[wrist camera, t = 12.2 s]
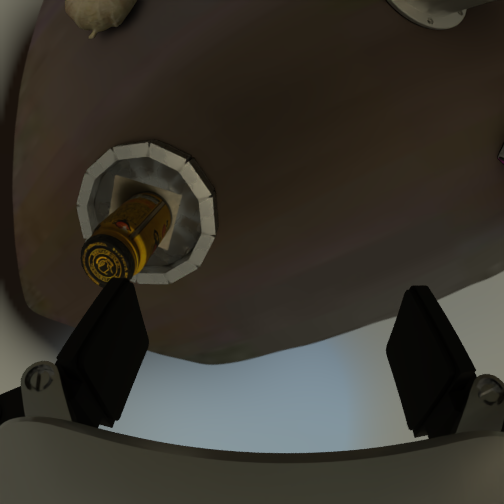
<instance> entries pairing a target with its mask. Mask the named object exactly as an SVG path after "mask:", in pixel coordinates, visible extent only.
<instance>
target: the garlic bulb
mask: <svg viewBox="0 0 504 504" xmlns="http://www.w3.org/2000/svg"><path fill="white" fill-rule="evenodd" d="M136 1H137V0H65V10H66V13H67V14H68V15H69V16H70V18H71V19H73V20H74V21H75V23H76V24H77V26H78V27H80V28H81V29H84V30H93V32H92V33H91V35H90V36H89V37H88V38H89V39H92V38H95V36H96V35H97V32H101V31H105V30H107V29H108V28H110V27H118V26H119V25H121V24H122V22H123V21H124V19H125V18H126V16H127V15H128V14H129V12H130V11H131V9H132V8H133V6H134V4H135V3H136Z"/></svg>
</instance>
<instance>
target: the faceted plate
mask: <svg viewBox="0 0 504 504" xmlns="http://www.w3.org/2000/svg"><path fill="white" fill-rule="evenodd" d="M190 158H191V155H189V154H187V153H185V152H183V151H181V150H179V149H176V148H174V147H172V146H170V145H168V144H166V143H164V142H162V141H159V140H157V141H156V140H148V141H140V142H133V143H126V144H121V145H118V146H115V147H113V148H110V149H109V150H108V151H107V152H106V153H105V154H104V155H103V156H102V157H100V158H99V159H98V160H97V161H96V162H95V163H94V164H93V165H92V166H91V167H90V168H89V169H88V170H87V172H86V173H85V175H84V178H83V182H82V185H81V189H80V193H79V196H78V200H77V205H78V206H77V211H78V216H79V220H80V225H81V229H82V233H83V237H84V238H88V239H89V238H90V237H91V236H92V233H93V231H94V229H95V228H96V226H97V225H98V224H99V223H101V222H102V221H103V220H104V219H105V218H106V217H108V216H109V211H110V207H111V206H110V204H111V199H112V192H113V186H114V179H115V175H118V176H121V177H125V178H129V179H132V180H135V181H138V182H141V183H145V184H148V185H152V186H155V187H158V188H162V189H164V190H168V191H171V192H174V193H177V194H180V195H182V198H181V201H180V205H179V209H178V213H177V217H176V220H175V224H174V228H173V232H172V236H171V240H170V244H169V248H168V250H166V249H163V248H161V247H157V248H156V250H155V251H154V253H153V254H152V255H151V257H150V258H149V260H148V261H147V264H146V265H145V266H144V267H143V269H142V270H141V271H140V272H139V273H137V274H136V275H134V276H133V277H132V279H131V281H133V282H134V283H136V281H137V282H138V284H169V283H173V282H175V281H177V280H178V279H180V278H182V277H184V276H185V275H187V274H189V273H191V272H193V271H194V270H196V269H198V267H200V265H201V263H202V261H203V260H204V258H205V256H206V254H207V252H208V250H209V248H210V246H211V244H212V242H213V240H214V238H215V236H216V233H217V230H218V213H217V200H216V191H214V189H215V188H214V187H213V185H212V184H211V182H210V181H209V179H208V178H207V176H206V175H205V173H204V172H203V170H202V169H201V167H200V166H199V165H198V163H197V162H196V160H195V159H194V158H193V159H191V160H190ZM122 159H123V160H122ZM120 160H121V161H120ZM189 160H190V161H189ZM119 161H120V162H119ZM106 172H107V173H106ZM105 173H106V174H105ZM104 174H105V175H104ZM103 176H104V177H103ZM213 191H214V192H213ZM201 232H202V233H201ZM86 240H87V239H86ZM86 240H85V242H86ZM194 246H195V247H194ZM193 247H194V249H193ZM192 249H193V251H191V250H192ZM190 251H191V252H190Z"/></svg>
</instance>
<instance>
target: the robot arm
mask: <svg viewBox="0 0 504 504" xmlns="http://www.w3.org/2000/svg"><path fill="white" fill-rule="evenodd" d="M387 1H388V2H389V4H390V5H391V6H392V7H393V8H394V9H395V10H397V11H398V12H399V13H400V14H401V15H403V16H404V17H405V18H407V19H409V20H410V21H412V22H414V23H416V24H418V25H420V26H422V27H425V28H428V29H434V30H445V29H449V28H452V27H454V26H457V25H458V24H459V23H460V22H461V21H462V20H463V19H464V17H465V14H466V10H467V9H468V8H471V7H475V6H478V5H481V4H485V3H488V2H492V1H495V0H387ZM148 345H149V339H148V335H147V332H146V328H145V325H144V321H143V318H142V314H141V311H140V307H139V303H138V299H137V295H136V291H135V287H134V284H133V283H130V281H129V280H128V279H127V278H117V277H113V278H111V279H110V280H109V281H108V283H107V284H106V285H105V287H104V288H103V290H102V291H101V292H100V294H99V295H98V297H97V298H96V299H95V301H94V302H93V304H92V305H91V306H90V308H89V309H88V311H87V312H86V314H85V315H84V316H83V318H82V319H81V321H80V322H79V324H78V325H77V327H76V328H75V330H74V331H73V333H72V334H71V336H70V337H69V339H68V340H67V342H66V343H65V345H64V346H63V348H62V350H61V352H60V353H59V354H58V356H57V361H56V363H55V365H54V364H53V363H51V362H49V361H40V362H36V363H34V364H32V365H31V366H29V367H28V368H27V369H26V370H25V372H24V373H23V375H22V378H21V386H20V387H17V388H15V389H13V390H10V391H8V392H5V393H3V394H1V395H0V504H504V383H503V382H502V381H501V380H500V379H499V378H497V377H496V376H493V375H490V374H483V375H480V376H478V377H476V374H475V371H476V369H475V367H474V365H473V363H472V361H471V359H470V358H469V356H468V354H467V352H466V350H465V348H464V346H463V345H462V343H461V341H460V339H459V337H458V335H457V334H456V332H455V330H454V329H453V327H452V325H451V323H450V322H449V320H448V318H447V316H446V315H445V313H444V311H443V310H442V308H441V307H440V305H439V303H438V302H437V300H436V298H435V297H434V295H433V294H432V292H431V291H430V289H429V287H428V286H411V287H410V289H409V290H406V292H405V294H404V297H403V300H402V303H401V306H400V309H399V312H398V315H397V318H396V321H395V324H394V327H393V330H392V333H391V335H390V339H389V341H388V344H387V347H386V354H387V358H388V361H389V364H390V367H391V370H392V373H393V377H394V380H395V383H396V386H397V390H398V393H399V396H400V399H401V403H402V407H403V410H404V414H405V417H406V421H407V425H408V427H409V429H410V430H413V433H414V437H415V438H416V437H421V436H425V435H428V438H429V439H426V440H421V441H415V442H410V443H404V444H398V445H391V446H384V447H377V448H369V449H360V450H350V451H337V452H320V453H252V452H236V451H223V450H213V449H204V448H196V447H188V446H181V445H174V444H168V443H163V442H157V441H152V440H147V439H142V438H137V437H133V436H128V435H124V434H119V433H115V432H111V431H107V430H103V429H99V428H98V427H99V424H100V425H104V426H107V427H111V428H112V427H113V424H114V422H115V420H116V421H118V420H119V419H120V417H121V414H122V411H123V409H124V406H125V403H126V401H127V398H128V396H129V393H130V391H131V388H132V386H133V383H134V381H135V378H136V376H137V373H138V371H139V368H140V366H141V363H142V361H143V359H144V356H145V354H146V351H147V349H148Z"/></svg>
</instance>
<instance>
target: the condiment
mask: <svg viewBox="0 0 504 504" xmlns="http://www.w3.org/2000/svg"><path fill="white" fill-rule="evenodd" d="M181 198H182V195H180V194H177V193H174V192H171V191H168V190H164V189H162V188H158V187H155V186H152V185H148V184H145V183H141V182H138V181H135V180H132V179H129V178H125V177H121V176H118V175H115V179H114V186H113V192H112V199H111V204H110V206H111V207H110V211H109V216H108V217H106V218H105V219H104V220H103V221H102V222H101V223H99V224H98V225H97V226H96V228H95V229H94V231H93V233H92V236H91V237H90V238H89V239H87V240H86V242H85V243H84V245H83V247H82V250H81V263H82V267H83V269H84V271H85V273H86V274H87V276H88V277H89V278H90V279H91V280H92V281H93V282H94V283H95V284H97V285H99V286H101V287H103V288H104V287H105V285H106V284H107V283H108V281H109V280H110V279H111V278H113V277H117V278H127V279H128V280H129V281H130V280H131V279H132V277H133V276H134V275H136V274H137V273H139V272H140V271H141V270H142V269H143V267H144V266H145V265H146V264H147V261H148V260H149V258H150V257H151V255H152V254H153V253H154V251H155V250H156V248H157V247H161V248H163V249H166V250H168V248H169V244H170V240H171V236H172V232H173V228H174V224H175V220H176V217H177V213H178V209H179V205H180V201H181Z"/></svg>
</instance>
